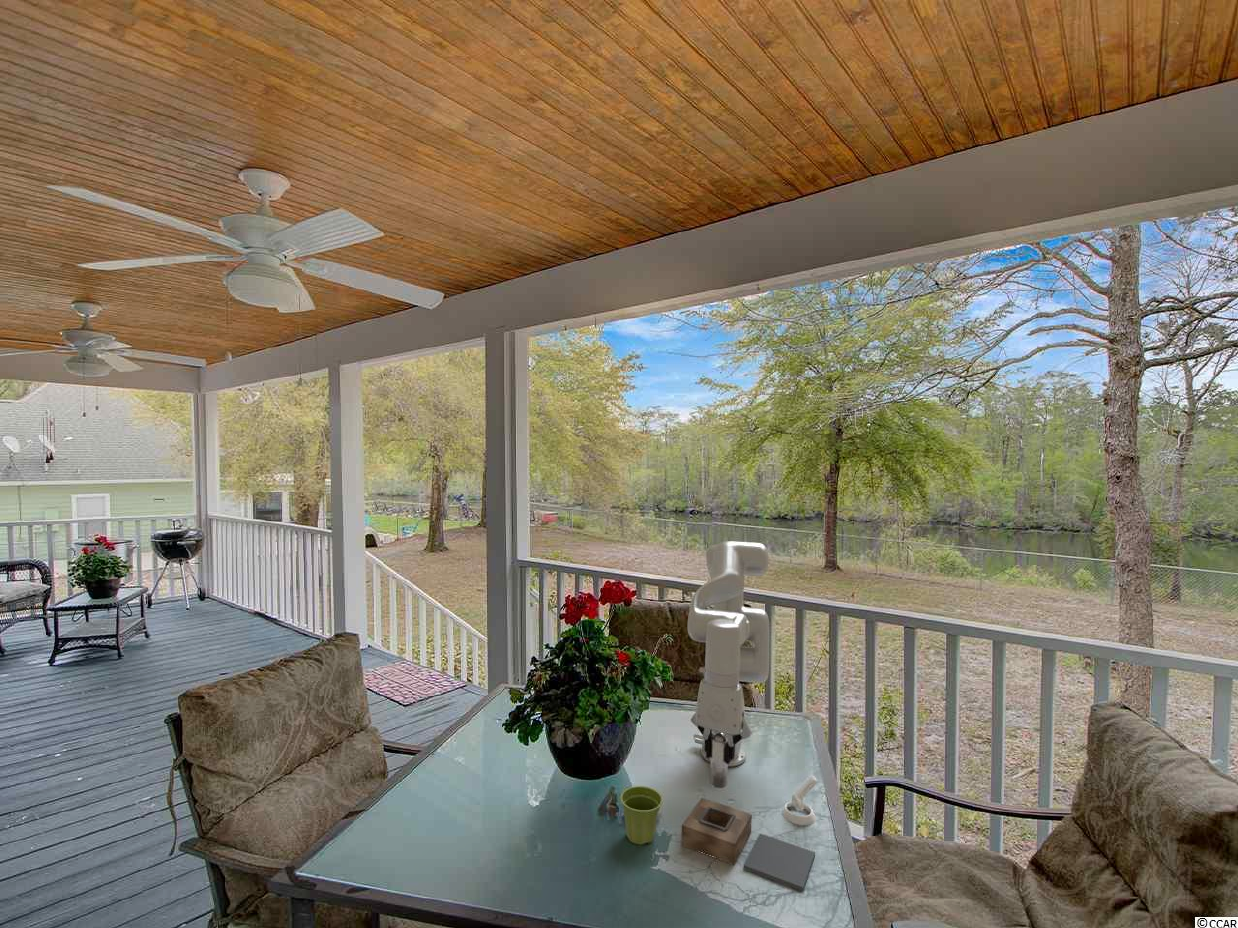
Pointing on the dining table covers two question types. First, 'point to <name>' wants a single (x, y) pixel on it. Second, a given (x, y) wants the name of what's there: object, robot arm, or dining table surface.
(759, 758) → the dining table surface
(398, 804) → the dining table surface
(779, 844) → the mat
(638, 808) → the plant pot
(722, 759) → the steel peg
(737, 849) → the block
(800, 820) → the white ring with handle
